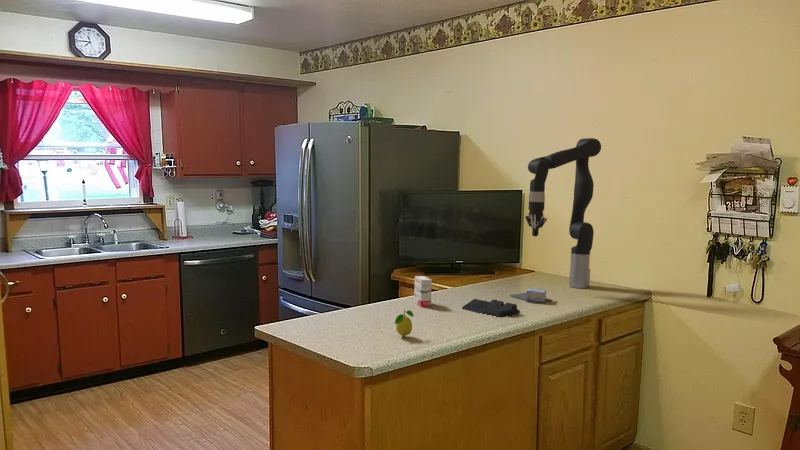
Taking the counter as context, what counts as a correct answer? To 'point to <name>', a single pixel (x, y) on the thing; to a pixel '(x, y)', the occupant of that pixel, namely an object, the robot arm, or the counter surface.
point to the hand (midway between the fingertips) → (535, 236)
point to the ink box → (422, 291)
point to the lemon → (404, 323)
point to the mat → (523, 297)
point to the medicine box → (536, 294)
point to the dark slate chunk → (492, 308)
